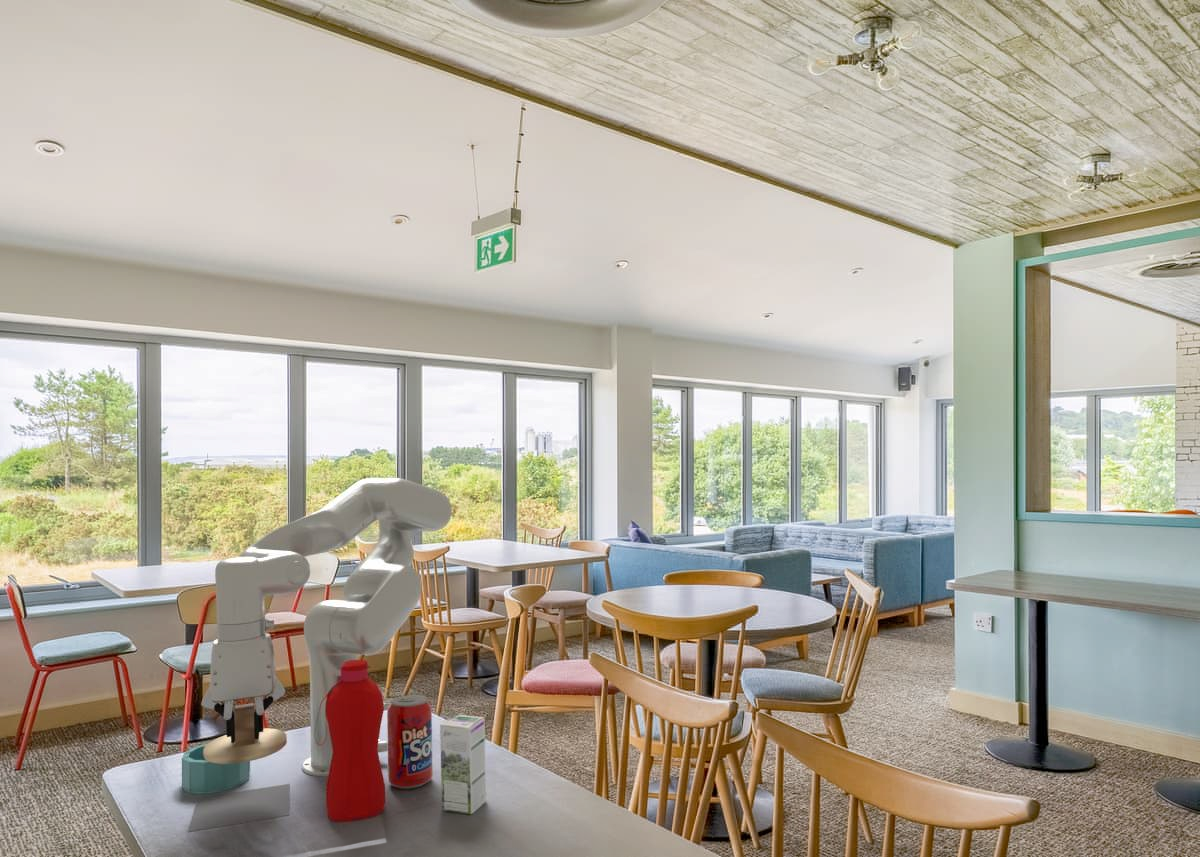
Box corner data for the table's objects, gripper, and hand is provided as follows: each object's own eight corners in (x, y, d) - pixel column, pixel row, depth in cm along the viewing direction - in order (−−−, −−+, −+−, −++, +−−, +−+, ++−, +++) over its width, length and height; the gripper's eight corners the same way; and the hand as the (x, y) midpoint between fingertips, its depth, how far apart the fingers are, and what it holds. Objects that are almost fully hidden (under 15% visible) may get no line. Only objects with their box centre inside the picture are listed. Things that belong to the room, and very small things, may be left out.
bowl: (251, 768, 157) (251, 737, 157) (248, 790, 146) (248, 756, 146) (186, 778, 153) (186, 745, 153) (178, 801, 142) (178, 766, 142)
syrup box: (487, 801, 139) (486, 715, 140) (471, 816, 134) (469, 726, 134) (457, 797, 141) (456, 712, 142) (440, 812, 136) (438, 723, 136)
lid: (286, 729, 148) (285, 690, 148) (286, 755, 135) (284, 712, 135) (207, 741, 143) (205, 701, 143) (199, 769, 131) (197, 725, 131)
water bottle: (314, 808, 138) (312, 659, 139) (381, 797, 142) (379, 652, 143) (317, 831, 129) (315, 672, 130) (388, 818, 133) (385, 664, 134)
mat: (289, 787, 147) (289, 783, 147) (289, 818, 134) (289, 814, 134) (197, 801, 142) (197, 797, 142) (187, 835, 129) (187, 831, 129)
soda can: (395, 774, 152) (394, 693, 153) (437, 774, 152) (435, 692, 152) (382, 792, 144) (381, 706, 145) (426, 791, 144) (425, 705, 144)
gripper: (292, 620, 146) (296, 723, 146) (190, 631, 140) (194, 739, 140) (292, 629, 139) (296, 737, 139) (185, 641, 133) (189, 754, 133)
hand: (245, 737), depth 139 cm, fingers closed on lid, 3 cm apart
